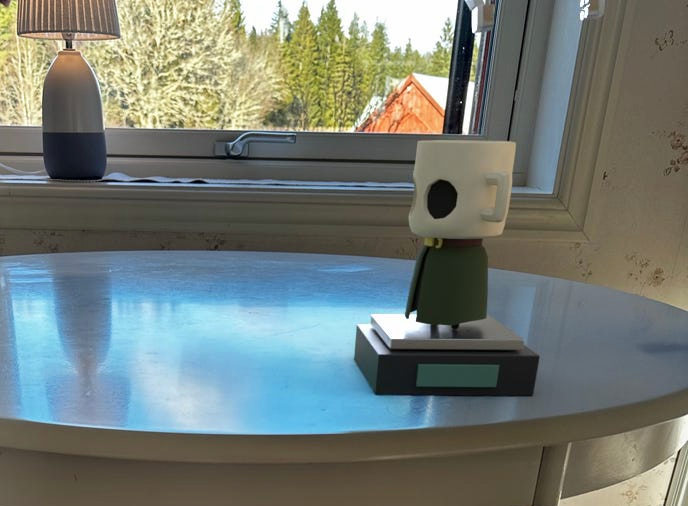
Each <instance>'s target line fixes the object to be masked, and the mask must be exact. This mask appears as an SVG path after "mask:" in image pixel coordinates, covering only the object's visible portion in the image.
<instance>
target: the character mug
mask: <svg viewBox="0 0 688 506" xmlns="http://www.w3.org/2000/svg"><path fill="white" fill-rule="evenodd" d="M516 149H517V142H516V141H515V142H514V141H511V140H479V139H478V140H475V139H471V140H469V139H434V140H433V139H432V140H418V141H417V145H416V155H415V161H414V162H415V163H414V168H413V173H412V179H413V197H412V203H411V206H410V210H409V214H408V226H409V229H410V231H411V233H413V234H414V235H416V236H419V237H424V244H423V245H422V246H421V248H420V249H419V252H418V253H417V256H416V261H415V265H414V269H413V273H412V278H411V281H410V286H409V290H408V295H407V302H406V305H405V306H406V307H405V310H404V315H405V318H406V319H409V316H410V315H411V313H414V312H416V314H415V315H416V320H415V322H418V323H424V324H431V325H451V327H452V329H458V328H459V324H461V323H466V322H470V321H477V320H483V319H486V317H487V316H488V315H487V313H488V295H489V294H488V293H489V288H488V287H489V257H488V253H487V249H486V248H485V246H484V245H483V240H484V239H491V238H495V237H498V236H500V235H502V234H503V232H504V229H505V226H506V219H507V217H508V215H509V210H510V209H509V208H510V201H511V196H512V189H513V188H512V187H513V173H514V172H513V171H514V165H515V157H516Z"/></svg>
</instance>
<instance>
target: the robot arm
mask: <svg viewBox="0 0 688 506" xmlns="http://www.w3.org/2000/svg"><path fill="white" fill-rule="evenodd" d="M464 1H465V4H466V5H467V7H468V9H469V11H470V12H471V29H472V30H471V31H472V33H473V34H477V33H478V34H479V33H485V32H486V33H487V32H490V31H492V30H493V29H494V27H495V18H494V16H493V15H494V13H495V3H487V4H486V3H485V1H484V0H464ZM580 8H581V9H582V10H581V11H580V20H581V21H590V20H597V19H600V18H602V17H603V16H604V14H605V9H606V0H580Z"/></svg>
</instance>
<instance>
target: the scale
mask: <svg viewBox="0 0 688 506" xmlns="http://www.w3.org/2000/svg"><path fill="white" fill-rule="evenodd" d="M540 358H541V356H540V355H539V354H538V353H536V352H535V351H534V350H532V349H531V348H530V347H528V346H527V345H525V344H524V347H523V350H414V349H390V348H389V347H388V345H387V344H386V343H385V342H384V340H383V339H382V338H381V336H380V335H379V334H378V333H377V331H376V330H375V329H374V328H373V326H372V325H371V323H357V324H356V329H355V342H354V353H353V359H354V361H355V363H356V365H357V367H358V369H359V370H360V371H361V374H362V375H363V376H364V378H365V380H366V381H367V383H368V384H369V386H370V388H371V390H372V391H373V393H374V395H375V396H376V395H379V396H380V395H381V396H385V395H387V396H392V395H393V396H492V397H493V396H495V397H496V396H497V397H498V396H503V397H504V396H507V397H509V396H511V397H514V396H516V397H532V396H534V393H535V386H536V381H537V374H538V369H539V365H540Z"/></svg>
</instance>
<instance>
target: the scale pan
mask: <svg viewBox="0 0 688 506" xmlns="http://www.w3.org/2000/svg"><path fill="white" fill-rule="evenodd" d="M370 315H371V316H370V324H371V325H372V326H373V328H374V329H375V330H376V331H377V333H378V334H379V335H380V336H381V338H382V339H383V340H384V342H385V343H386V344H387V345H388V347H389V348H390V349H414V350H523V347H524V345H525V338H522V337H521V336H520V335H518V334H517V333H516V332H514V331H512V330H511V329H510V328H509V327H507V326H505V325H504V324H503V323H501V322H500V321H498V320H497V319H495V318H494V316H493V317H492V315H487V317H486V319H483V320H477V321H470V322H466V323H461V324H459V328H458V329H452V327H451V325H431V324H424V323H418V322H415V320H416V314H410V316H409V319H406V318H405V314H370Z"/></svg>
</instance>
